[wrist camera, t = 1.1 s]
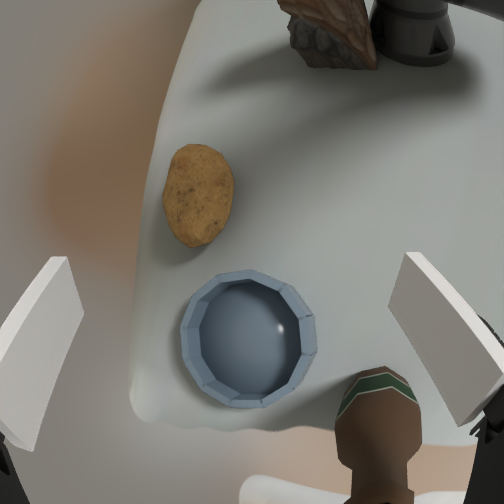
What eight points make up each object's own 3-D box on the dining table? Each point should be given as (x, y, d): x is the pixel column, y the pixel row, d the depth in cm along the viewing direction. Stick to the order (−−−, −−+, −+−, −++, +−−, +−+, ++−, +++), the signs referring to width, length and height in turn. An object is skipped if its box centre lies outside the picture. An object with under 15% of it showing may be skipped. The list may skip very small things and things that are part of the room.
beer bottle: (337, 418, 32) (281, 550, 10) (353, 358, 33) (325, 442, 11) (397, 429, 29) (415, 568, 7) (416, 369, 30) (484, 460, 8)
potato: (183, 257, 44) (147, 247, 36) (185, 169, 47) (155, 147, 39) (246, 250, 40) (218, 236, 33) (243, 154, 43) (218, 126, 36)
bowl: (224, 257, 41) (210, 251, 38) (337, 305, 35) (334, 304, 31) (181, 362, 41) (164, 365, 37) (282, 420, 34) (272, 431, 31)
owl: (298, 70, 43) (253, -28, 24) (307, 25, 44) (271, -61, 26) (377, 72, 38) (362, -37, 20) (376, 25, 39) (358, -68, 21)
